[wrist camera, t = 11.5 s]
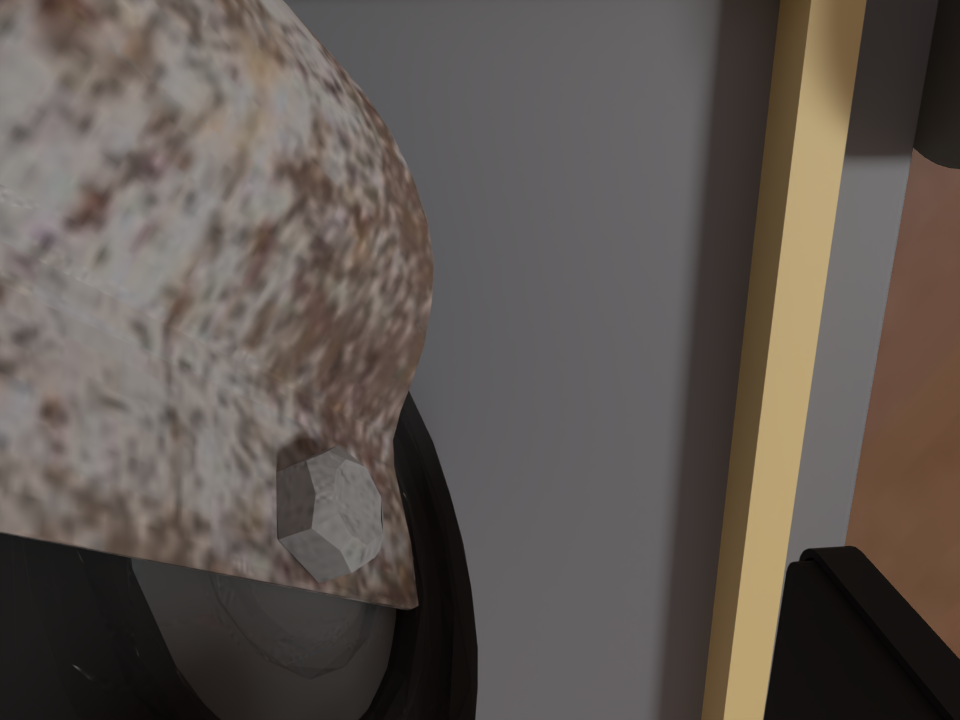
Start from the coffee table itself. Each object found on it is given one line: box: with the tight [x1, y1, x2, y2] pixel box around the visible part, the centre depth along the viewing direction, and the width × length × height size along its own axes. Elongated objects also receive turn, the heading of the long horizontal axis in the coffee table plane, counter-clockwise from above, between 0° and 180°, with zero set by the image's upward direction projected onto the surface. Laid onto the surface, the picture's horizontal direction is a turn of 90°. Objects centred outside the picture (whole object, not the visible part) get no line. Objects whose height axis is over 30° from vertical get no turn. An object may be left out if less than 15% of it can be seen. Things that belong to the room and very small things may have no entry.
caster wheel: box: [0, 0, 478, 720], centre depth 9 cm, size 7×11×10 cm
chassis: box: [283, 0, 960, 720], centre depth 13 cm, size 22×22×5 cm
